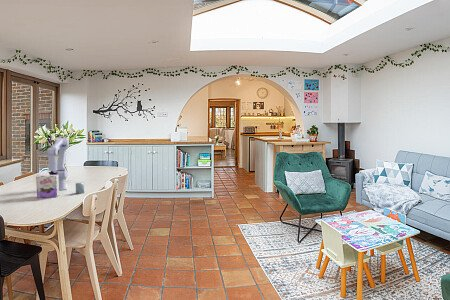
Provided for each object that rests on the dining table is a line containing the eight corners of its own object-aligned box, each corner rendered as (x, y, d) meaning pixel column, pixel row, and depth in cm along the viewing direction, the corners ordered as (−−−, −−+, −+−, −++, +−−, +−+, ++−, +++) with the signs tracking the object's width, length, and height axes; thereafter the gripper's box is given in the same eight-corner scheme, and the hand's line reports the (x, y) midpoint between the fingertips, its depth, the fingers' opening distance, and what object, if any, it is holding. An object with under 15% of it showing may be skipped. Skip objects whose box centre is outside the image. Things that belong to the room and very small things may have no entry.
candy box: (36, 198, 228) (35, 176, 227) (39, 196, 234) (38, 174, 233) (56, 197, 231) (56, 175, 230) (59, 195, 237) (58, 174, 235)
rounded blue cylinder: (74, 192, 245) (74, 183, 245) (82, 191, 249) (82, 182, 249) (77, 194, 241) (76, 184, 240) (85, 193, 245) (84, 183, 244)
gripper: (44, 162, 243) (45, 179, 244) (48, 164, 232) (49, 182, 233) (54, 162, 247) (55, 178, 248) (59, 164, 236) (59, 181, 238)
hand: (53, 180), depth 241 cm, fingers closed
